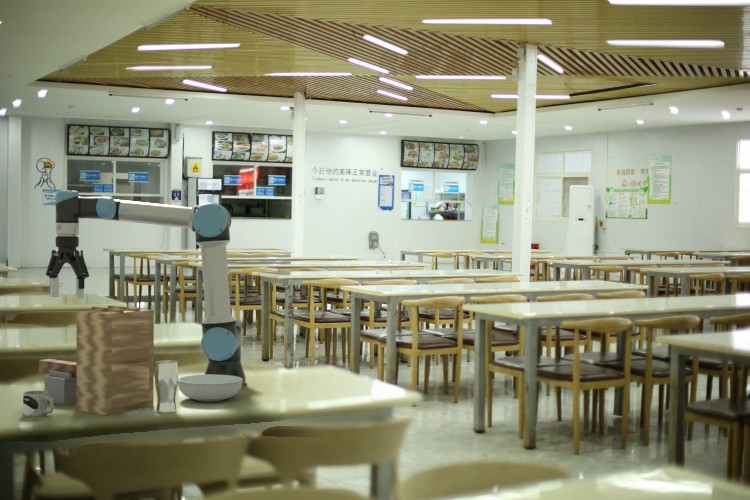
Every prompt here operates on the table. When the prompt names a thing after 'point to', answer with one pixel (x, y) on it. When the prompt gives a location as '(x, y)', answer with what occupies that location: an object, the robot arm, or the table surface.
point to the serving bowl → (210, 387)
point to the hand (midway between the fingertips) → (67, 297)
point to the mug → (36, 403)
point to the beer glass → (166, 385)
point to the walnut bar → (57, 366)
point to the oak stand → (114, 359)
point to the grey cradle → (61, 387)
